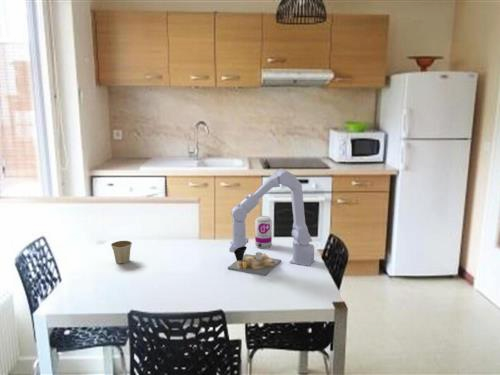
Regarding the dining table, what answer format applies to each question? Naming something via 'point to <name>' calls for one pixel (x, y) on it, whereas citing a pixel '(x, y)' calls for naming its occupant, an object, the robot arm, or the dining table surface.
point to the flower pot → (121, 251)
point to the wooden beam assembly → (256, 262)
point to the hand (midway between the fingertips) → (239, 262)
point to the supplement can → (263, 232)
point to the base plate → (256, 271)
